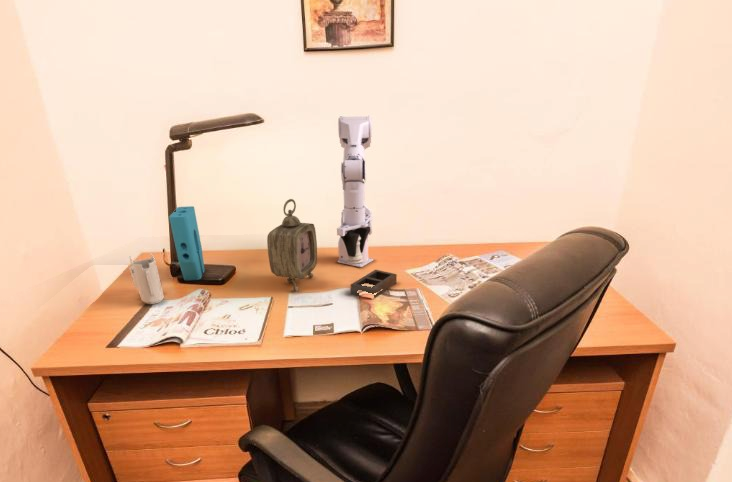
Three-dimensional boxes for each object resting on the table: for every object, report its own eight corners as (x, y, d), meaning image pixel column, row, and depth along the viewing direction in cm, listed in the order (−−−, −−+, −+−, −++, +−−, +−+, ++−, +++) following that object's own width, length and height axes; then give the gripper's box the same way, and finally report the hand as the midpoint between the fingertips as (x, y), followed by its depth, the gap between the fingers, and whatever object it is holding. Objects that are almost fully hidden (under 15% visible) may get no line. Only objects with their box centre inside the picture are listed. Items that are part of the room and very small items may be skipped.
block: (190, 268, 158) (177, 206, 148) (206, 267, 159) (194, 206, 149) (182, 282, 148) (168, 217, 138) (199, 281, 148) (186, 216, 138)
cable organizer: (159, 288, 144) (150, 250, 138) (167, 304, 135) (157, 263, 129) (135, 293, 141) (125, 254, 135) (141, 309, 132) (130, 267, 126)
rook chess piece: (350, 265, 138) (349, 237, 134) (346, 260, 142) (345, 233, 138) (365, 263, 139) (364, 236, 135) (361, 258, 143) (360, 231, 139)
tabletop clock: (298, 295, 139) (290, 207, 127) (270, 291, 142) (260, 204, 129) (318, 276, 151) (313, 194, 138) (292, 273, 153) (285, 192, 141)
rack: (372, 299, 136) (372, 289, 134) (350, 294, 139) (350, 284, 138) (396, 283, 145) (396, 274, 144) (375, 278, 149) (375, 269, 147)
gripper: (351, 214, 125) (352, 264, 132) (380, 202, 136) (380, 249, 143) (329, 210, 129) (332, 259, 135) (359, 199, 139) (360, 245, 146)
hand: (355, 254), depth 139 cm, fingers closed on rook chess piece, 3 cm apart
